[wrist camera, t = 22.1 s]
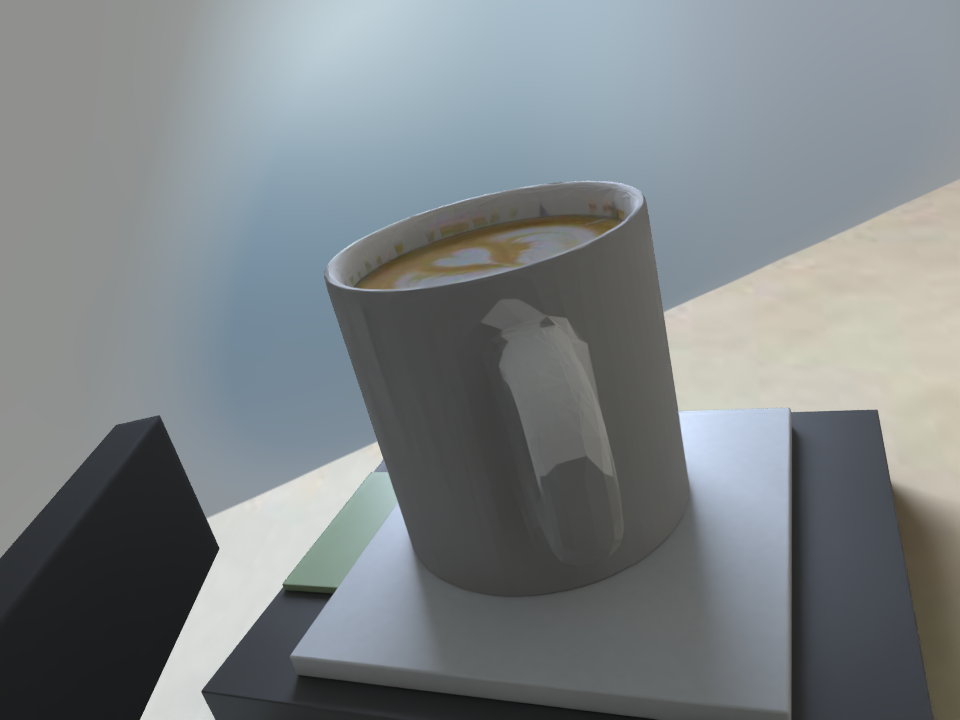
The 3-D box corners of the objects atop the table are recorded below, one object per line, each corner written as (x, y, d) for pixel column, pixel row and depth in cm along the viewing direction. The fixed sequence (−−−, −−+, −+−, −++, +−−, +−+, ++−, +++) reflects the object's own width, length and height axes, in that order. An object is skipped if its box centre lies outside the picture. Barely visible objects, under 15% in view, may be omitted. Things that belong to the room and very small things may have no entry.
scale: (234, 758, 25) (190, 672, 24) (427, 475, 38) (406, 409, 37) (947, 889, 17) (948, 772, 16) (879, 475, 30) (877, 390, 29)
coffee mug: (425, 451, 33) (355, 223, 29) (661, 407, 31) (622, 162, 28) (373, 712, 21) (240, 379, 17) (756, 658, 19) (709, 283, 15)
